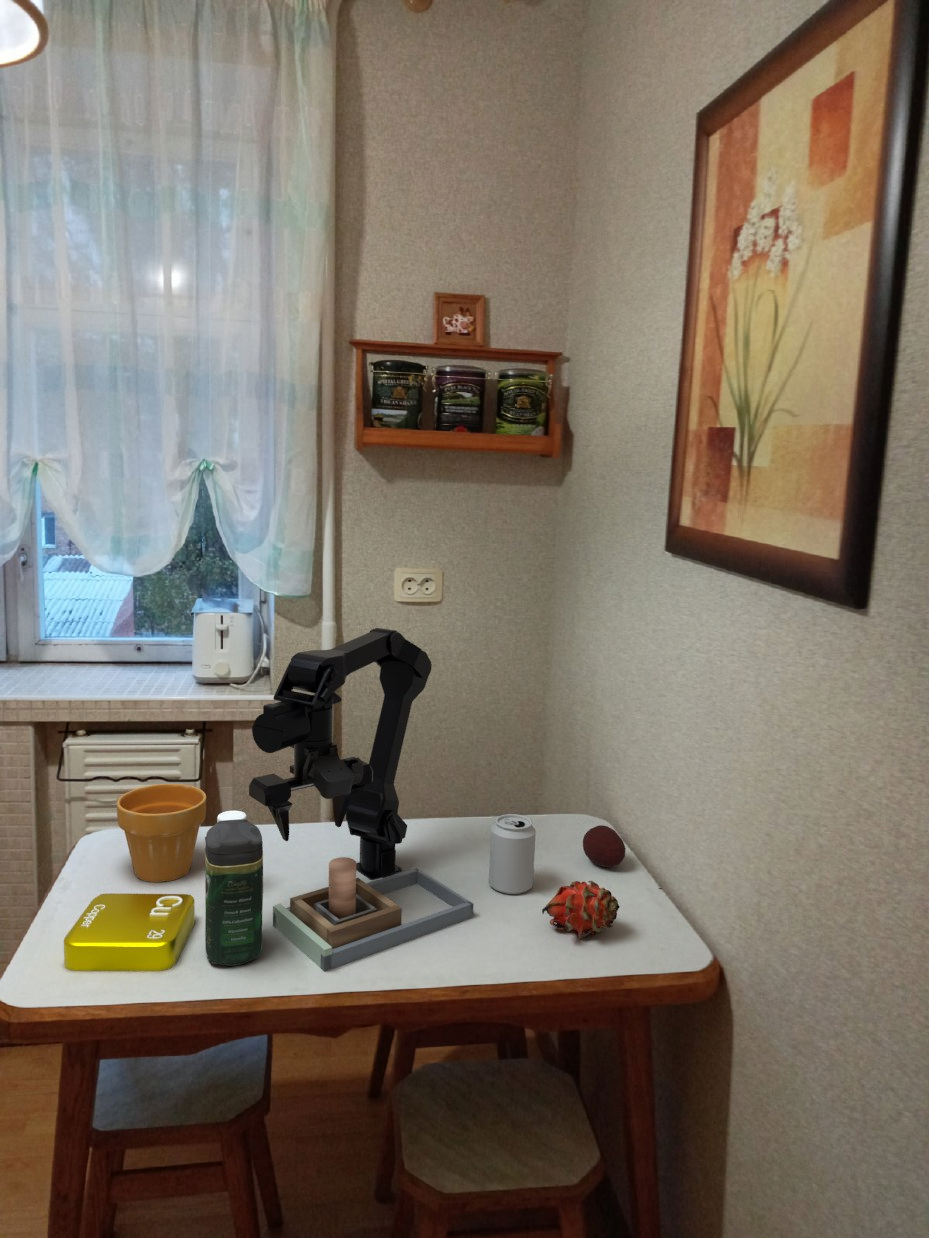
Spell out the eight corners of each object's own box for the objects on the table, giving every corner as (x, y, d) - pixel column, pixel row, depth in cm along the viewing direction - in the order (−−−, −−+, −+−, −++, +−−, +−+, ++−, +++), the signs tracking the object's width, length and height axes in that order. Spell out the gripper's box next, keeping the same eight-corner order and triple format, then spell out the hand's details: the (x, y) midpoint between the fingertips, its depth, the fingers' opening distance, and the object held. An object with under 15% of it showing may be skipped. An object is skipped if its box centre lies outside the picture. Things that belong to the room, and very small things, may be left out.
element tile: (97, 918, 136) (96, 889, 135) (197, 919, 137) (197, 889, 136) (59, 973, 121) (58, 941, 120) (171, 974, 122) (171, 941, 121)
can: (529, 900, 146) (533, 831, 144) (484, 894, 147) (487, 825, 145) (535, 880, 153) (538, 814, 151) (492, 874, 155) (495, 809, 153)
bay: (272, 927, 134) (272, 905, 134) (415, 881, 151) (416, 862, 150) (324, 973, 123) (324, 949, 122) (472, 918, 139) (473, 897, 139)
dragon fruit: (624, 944, 137) (546, 953, 136) (612, 892, 142) (538, 901, 142) (627, 919, 130) (546, 928, 130) (615, 866, 136) (537, 875, 136)
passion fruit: (603, 878, 155) (605, 840, 154) (573, 859, 162) (575, 823, 161) (635, 870, 159) (638, 833, 158) (604, 851, 166) (607, 816, 165)
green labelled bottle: (265, 964, 124) (266, 838, 121) (207, 971, 122) (205, 844, 119) (259, 929, 133) (259, 812, 130) (204, 936, 131) (203, 816, 128)
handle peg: (323, 924, 133) (324, 861, 131) (346, 916, 136) (347, 854, 134) (337, 935, 130) (337, 871, 128) (360, 927, 132) (361, 864, 131)
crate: (289, 925, 134) (290, 898, 133) (357, 904, 142) (358, 877, 141) (330, 961, 125) (331, 931, 124) (400, 936, 133) (401, 908, 132)
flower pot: (221, 858, 157) (220, 787, 155) (182, 894, 143) (181, 818, 141) (146, 849, 159) (145, 779, 157) (101, 884, 145) (99, 809, 143)
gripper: (284, 761, 123) (283, 867, 125) (394, 739, 135) (392, 836, 137) (247, 740, 131) (247, 840, 134) (354, 721, 143) (352, 813, 146)
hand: (312, 833), depth 137 cm, fingers open, 9 cm apart
